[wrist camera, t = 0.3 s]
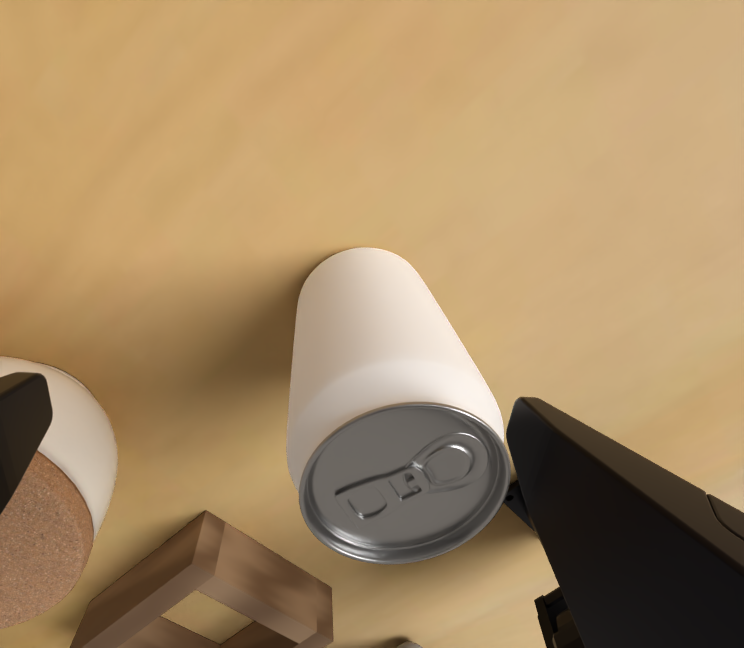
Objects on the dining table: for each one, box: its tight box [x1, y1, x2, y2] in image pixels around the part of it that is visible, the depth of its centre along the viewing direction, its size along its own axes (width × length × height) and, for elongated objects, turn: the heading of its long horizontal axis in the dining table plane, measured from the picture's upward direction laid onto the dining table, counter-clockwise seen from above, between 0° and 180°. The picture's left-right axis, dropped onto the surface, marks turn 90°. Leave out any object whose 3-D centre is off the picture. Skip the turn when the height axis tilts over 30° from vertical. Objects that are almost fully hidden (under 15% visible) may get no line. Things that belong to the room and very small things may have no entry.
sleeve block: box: [70, 511, 333, 648], centre depth 29 cm, size 11×11×4 cm
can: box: [286, 247, 511, 564], centre depth 17 cm, size 6×6×12 cm
